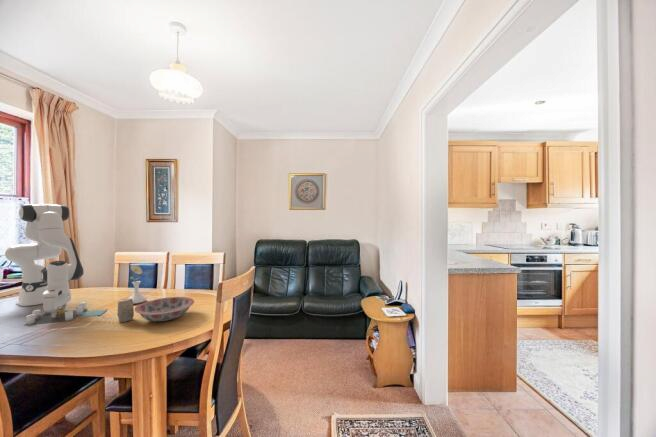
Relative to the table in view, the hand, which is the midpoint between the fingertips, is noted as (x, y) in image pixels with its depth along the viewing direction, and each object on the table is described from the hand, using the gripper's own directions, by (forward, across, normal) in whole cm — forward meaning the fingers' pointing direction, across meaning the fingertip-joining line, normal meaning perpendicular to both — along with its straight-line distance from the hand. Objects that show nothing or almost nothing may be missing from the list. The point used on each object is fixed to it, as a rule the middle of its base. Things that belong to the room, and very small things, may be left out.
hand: (58, 314), depth 158 cm
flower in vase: (+2, -17, +33) cm, 37 cm away
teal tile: (+2, 0, +16) cm, 16 cm away
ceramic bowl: (+2, +21, +57) cm, 61 cm away
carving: (+2, +18, +37) cm, 41 cm away
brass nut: (+1, 0, 0) cm, 1 cm away
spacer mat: (+2, 0, 0) cm, 2 cm away
